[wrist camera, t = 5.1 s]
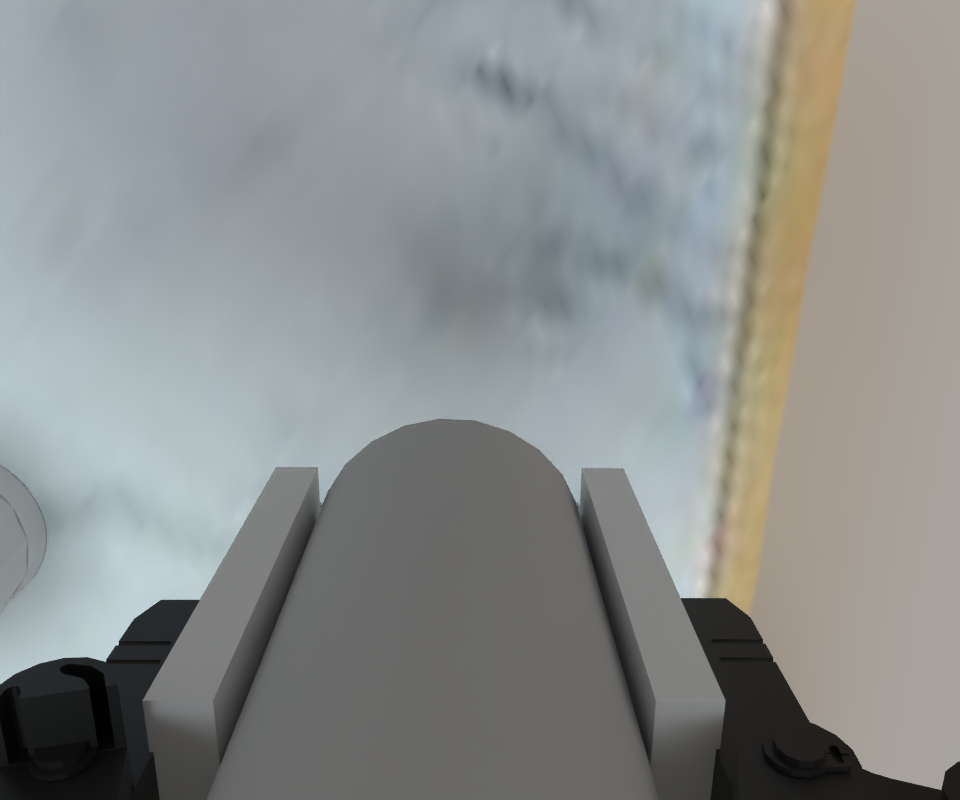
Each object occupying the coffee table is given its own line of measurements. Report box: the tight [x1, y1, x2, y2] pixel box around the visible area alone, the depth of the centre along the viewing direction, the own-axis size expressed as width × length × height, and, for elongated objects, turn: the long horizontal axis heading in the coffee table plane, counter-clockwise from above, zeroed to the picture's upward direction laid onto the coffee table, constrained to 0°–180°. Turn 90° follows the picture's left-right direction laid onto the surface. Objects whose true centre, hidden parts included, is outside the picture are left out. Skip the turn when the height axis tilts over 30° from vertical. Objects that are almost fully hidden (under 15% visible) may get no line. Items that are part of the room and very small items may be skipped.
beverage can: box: [207, 419, 659, 800], centre depth 10 cm, size 5×5×12 cm
